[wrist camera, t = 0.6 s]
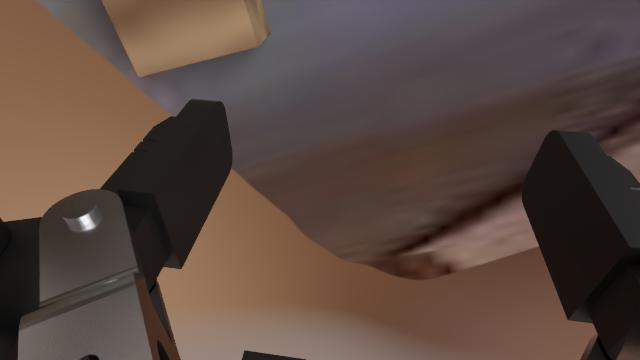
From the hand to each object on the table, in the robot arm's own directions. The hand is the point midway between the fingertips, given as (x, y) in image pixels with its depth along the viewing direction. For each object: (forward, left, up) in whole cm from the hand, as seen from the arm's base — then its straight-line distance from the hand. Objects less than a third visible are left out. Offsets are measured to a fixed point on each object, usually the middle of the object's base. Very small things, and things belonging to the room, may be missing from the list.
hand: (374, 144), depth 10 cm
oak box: (-5, -12, -26) cm, 29 cm away
